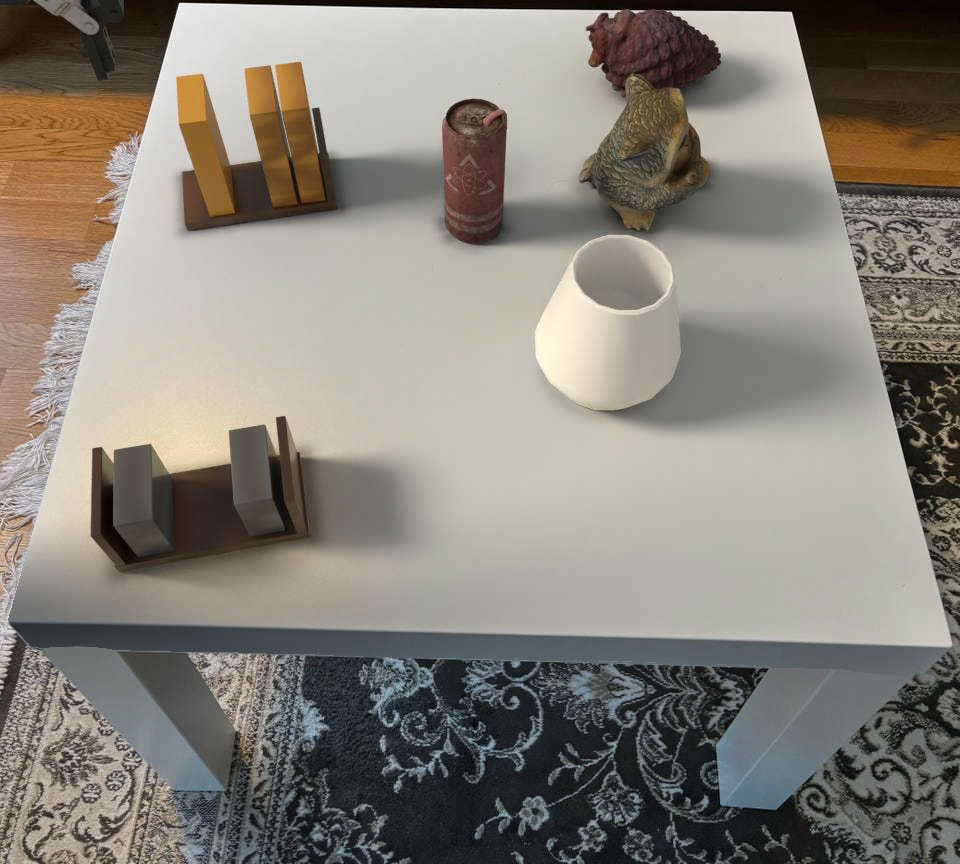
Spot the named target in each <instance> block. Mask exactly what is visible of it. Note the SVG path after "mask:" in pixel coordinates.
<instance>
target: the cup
mask: <svg viewBox="0 0 960 864" xmlns="http://www.w3.org/2000/svg"><path fill="white" fill-rule="evenodd" d="M678 303H679V301H678V289H677V279H676V271H675V266H674V264H673V263H672V261H671V260H670V258H669V257H668V256H667V254H666V252H665V251H664V250H662V249H661V248H659V247H658V246H656V245H655V244H653V243H652V242H651V241H649V240H647V239H643V238H640V237H637V236H634V235H630V234H607V235H603V236H600V237H597V238H593V239H590V240H589V241H588V242H586V243H585V244H584V245H582V246H581V247H580V248H578V249H577V250H576V251H575V254H574V255H573V257H572V259H571V260H570V262H569V264H568V266H567V268H566V269H565V272H564V273H563V275H562V278H561V279H560V280H559V283H558V285H557V287H556V289H555V290H554V292H553V294H552V296H551V298H550V300H549V301H548V303H547V305H546V306H545V309H544V310H543V313H542V315H541V318H540V319H539V321H538V324H537V326H536V327H535V330H534V347H535V358H536V362H537V364H538V365H539V367H540V369H541V370H542V372H543V374H544V376H545V378H546V379H547V381H548V383H550V384H551V385H552V386H553V387H554V388H555V389H557V390H559V392H561V393H562V394H563V395H565V396H566V397H567V398H568V399H570V400H571V401H572V402H573V403H575V404H576V405H579V406H582V407H585V408H587V409H591V410H593V411H617V410H622V409H623V410H624V409H627V408H630V407H633V406H636V405H639V404H641V403H644V402H646V401H649V400H652V399H653V398H654V397H655V396H656V395H657V394H658V393H660V391H662V390H663V389H664V388H665V387H666V386H667V385H668V384H669V383H670V382H671V380H673V378H674V375H675V372H676V369H677V367H678V364H679V362H680V359H681V353H682V349H681V348H682V346H681V333H680V332H681V331H680V319H679V304H678Z"/></svg>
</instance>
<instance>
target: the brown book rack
mask: <svg viewBox="0 0 960 864" xmlns="http://www.w3.org/2000/svg"><path fill="white" fill-rule="evenodd" d="M275 423H276V425H275V426H276V434H277V442H278V453H279V454H277V452H276V449H275V447H274V443H273V442H272V439H271V436H270V433H269V431H268V429H267V425H266V424H259V425H252V426H247V427H241V428H235V429H230V430H228V443H229V456H230V463H226V464H220V465H219V464H218V465H214V466H208V467H201V468H197V469H191V470H185V471H179V472H173V473H169V471H168V470H167V468H166V466H165V464H164V463H163V461H162V459H161V458H160V455H158V453H157V451H156V450H155V448H154V446H153V445H152V443H147V444H140V445H135V446H127V447H122V448H117V449H113V460H112V459H111V458H110V457H109V455H108V454H107V452H106V451H105V449H104V448H103V446H98V447H92V449H91V483H90V484H91V485H90V487H91V488H90V489H91V490H90V534H89V535H90V536H89V537H90V538H91V539H92V540H93V542H95V543H96V545H97V546H98V547H99V548H100V549H101V550H102V551H103V552H104V554H105V555H106V556H107V557H108V559H110V561H111V562H112V563H113V564H114V568H115V570H116V571H117V572H118V573H119V572H125V571H130V570H136V569H137V570H138V569H141V568H146V567H152V566H159V565H163V564H169V563H173V562H179V561H185V560H191V559H195V558H202V557H207V556H212V555H217V554H223V553H224V554H225V553H228V552H234V551H235V552H236V551H239V550H240V551H241V550H246V549H250V548H256V547H261V546H268V545H272V544H277V543H284V542H289V541H294V540H299V539H306V538H310V537H311V536H312V534H311V526H310V517H309V509H308V500H307V492H306V484H305V475H304V467H303V460H302V455H301V452H300V451H298V449H297V447H296V444H295V441H294V437H293V435H292V432H291V429H290V426H289V425H290V424H289V423H288V419H287V416H286V415H281V416H276V417H275Z"/></svg>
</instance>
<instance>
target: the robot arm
mask: <svg viewBox="0 0 960 864" xmlns="http://www.w3.org/2000/svg"><path fill="white" fill-rule="evenodd" d="M31 1H32V0H0V6H8V7H26V6H30V5H29V3H30V2H31ZM33 2H34V3H36V4H37V5H39V6H41V7H42V8H43V9H44V10H46V11H47V12H48V13H50V14H51V15H53V16H55V17H59V16H60V17H62V18H63V19H65V20H66V21H68V22H69V23H71V24H72V25H73V26H74V27H75V28H77V29H79V31H80V38H81V41H82V44H83V46H84V49H85V51H86V54H87V56H88V59H89V62H90V64H91V66H92V68H93V71H94V74H95V76H96V79H97V81H98V82H106V81H110V75H111V73H112V72H113V73H114V72H115V67H116V58H115V57H116V52H115V49H114V46H113V43H112V41H111V38H110V36H109V33H108V30H107V27H106V25H107V24H109V23H114V24H117V23H121V22H122V21H123V20H124V16H125V6H124V5H125V2H124V0H33Z"/></svg>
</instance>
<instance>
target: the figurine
mask: <svg viewBox="0 0 960 864" xmlns="http://www.w3.org/2000/svg"><path fill="white" fill-rule="evenodd" d="M625 91H626V97H627V98H626V104H625V106H624V109H623V110H622V111H621V113H620V115H619V117H618V118H617V119H616V121H615V123H614V124H613V126H612V128H611V130H610V131H609V133H608V134H606V136H605V137H604V138H603V140H602V141H601V142H600V143H599V146H598V148H597V150H596V152H595V153H593V154H591V155H589V156H588V158H587V159H586V160H585V161H584V163H583V165H582V169H581V171H580V173H579V174H578V181H579V183H580V184H585V183H591V184H593V185H594V186H595V188H596V189H597V193H598V195H599V196H600V198H601V199H602V200H603V201H604V202H606V203H607V204H608V206H610V207H611V208H613V210H615V211H616V212H617V213H618V215H620V217H621V219H622V223H623V226H624V227H625V228H626V229H627V230H630V229H634V230H636V231H637V232H639V231H640V229H643V230H645V231H649V229H651V227H652V224H653V221H654V218H655V215H656V213H659V212H662V211H664V210H666V209H668V208H670V207H672V206H675V205H678V204H680V203H683V202H684V201H686V200H688V199H689V198H691V197H692V196H694V195H695V194H696V193H697V192H699V191H700V190H701V189H702V188H703V187H704V186H705V184H707V182H708V180H709V175H710V172H711V171H710V170H711V169H710V165H709V162H708V161H707V160H706V159H705V158H704V157H703V156H702V152H701V150H702V149H701V148H702V145H701V139H700V136H699V134H698V132H697V131H696V129H695V127H694V126H693V125H692V124H691V123H690V122H689V116H688V111H687V106H686V100H685V98H684V96H683V94H682V91H681V88H680V89H677V88H662V89H655V88H654V87H653V86H652V84H651V83H650V82H649V81H648V80H647V79H645V78H644V77H642V76H641V75H639V74H631V75H630V76H629V77H628V79H627V81H626V86H625Z"/></svg>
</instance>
